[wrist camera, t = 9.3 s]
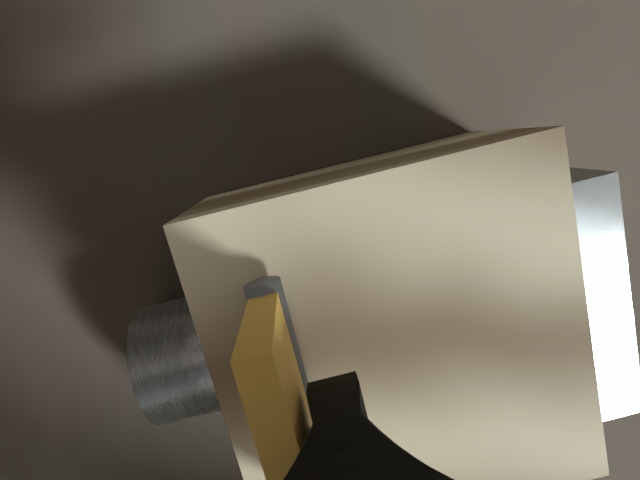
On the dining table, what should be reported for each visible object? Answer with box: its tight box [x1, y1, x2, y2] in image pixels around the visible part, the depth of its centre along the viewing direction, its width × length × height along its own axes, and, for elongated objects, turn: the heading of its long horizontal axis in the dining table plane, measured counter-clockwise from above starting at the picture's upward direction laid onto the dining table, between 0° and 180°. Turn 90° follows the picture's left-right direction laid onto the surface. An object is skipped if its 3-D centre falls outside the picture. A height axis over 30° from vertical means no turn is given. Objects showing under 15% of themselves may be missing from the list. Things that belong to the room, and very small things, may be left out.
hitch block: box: [163, 126, 609, 480], centre depth 16 cm, size 10×10×6 cm
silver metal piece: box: [126, 168, 640, 425], centre depth 16 cm, size 7×14×6 cm, turn 104°
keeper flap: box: [230, 276, 312, 480], centre depth 10 cm, size 6×1×4 cm, turn 14°
